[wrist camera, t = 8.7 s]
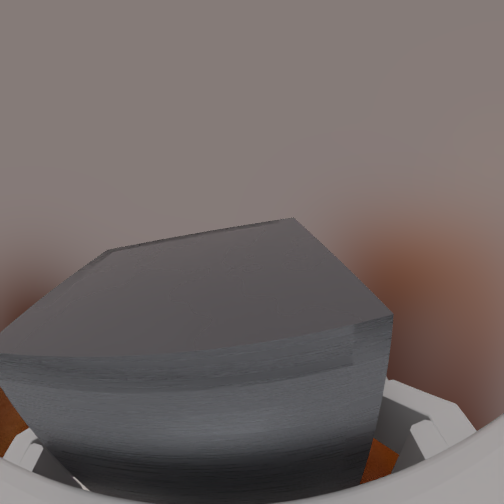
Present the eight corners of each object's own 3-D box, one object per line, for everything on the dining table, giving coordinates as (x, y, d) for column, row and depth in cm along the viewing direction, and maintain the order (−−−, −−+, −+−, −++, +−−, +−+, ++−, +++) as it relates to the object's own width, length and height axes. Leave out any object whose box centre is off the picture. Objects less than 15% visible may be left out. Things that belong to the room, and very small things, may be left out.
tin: (339, 535, 6) (393, 314, 3) (168, 545, 6) (-20, 350, 3) (310, 424, 12) (293, 217, 9) (183, 438, 12) (107, 249, 9)
